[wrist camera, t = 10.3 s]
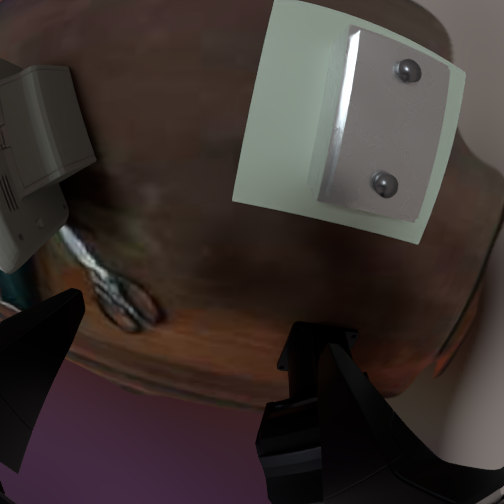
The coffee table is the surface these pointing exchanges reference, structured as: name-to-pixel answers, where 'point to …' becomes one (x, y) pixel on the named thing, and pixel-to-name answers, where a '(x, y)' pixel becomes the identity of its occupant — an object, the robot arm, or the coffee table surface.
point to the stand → (316, 120)
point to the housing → (378, 125)
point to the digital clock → (36, 156)
